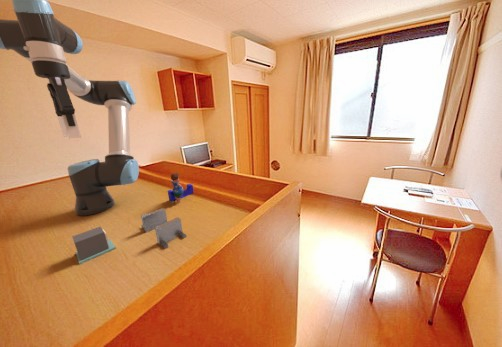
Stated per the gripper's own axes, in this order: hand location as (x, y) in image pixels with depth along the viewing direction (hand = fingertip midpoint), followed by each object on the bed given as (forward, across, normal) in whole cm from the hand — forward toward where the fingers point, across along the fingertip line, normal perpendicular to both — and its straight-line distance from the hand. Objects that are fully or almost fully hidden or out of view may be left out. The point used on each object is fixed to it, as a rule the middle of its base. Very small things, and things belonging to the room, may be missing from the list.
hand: (72, 137), depth 63 cm
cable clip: (+35, -5, +35) cm, 50 cm away
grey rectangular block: (+34, +13, -4) cm, 37 cm away
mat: (+35, +12, -4) cm, 37 cm away
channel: (+35, +19, +15) cm, 42 cm away
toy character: (+35, 0, +32) cm, 47 cm away
